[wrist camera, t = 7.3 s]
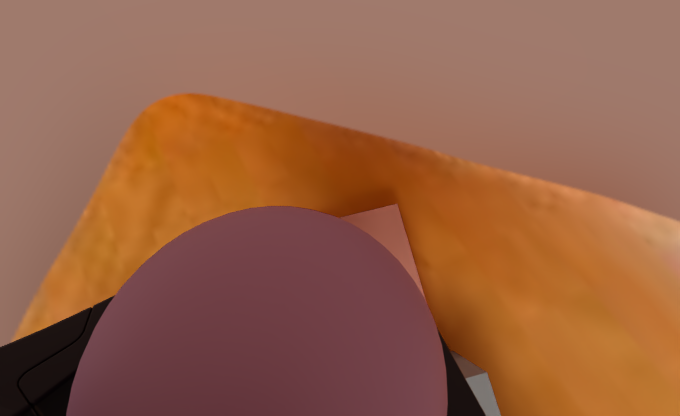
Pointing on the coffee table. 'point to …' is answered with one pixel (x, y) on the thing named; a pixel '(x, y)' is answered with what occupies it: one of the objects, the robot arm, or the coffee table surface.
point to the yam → (265, 327)
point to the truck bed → (392, 235)
